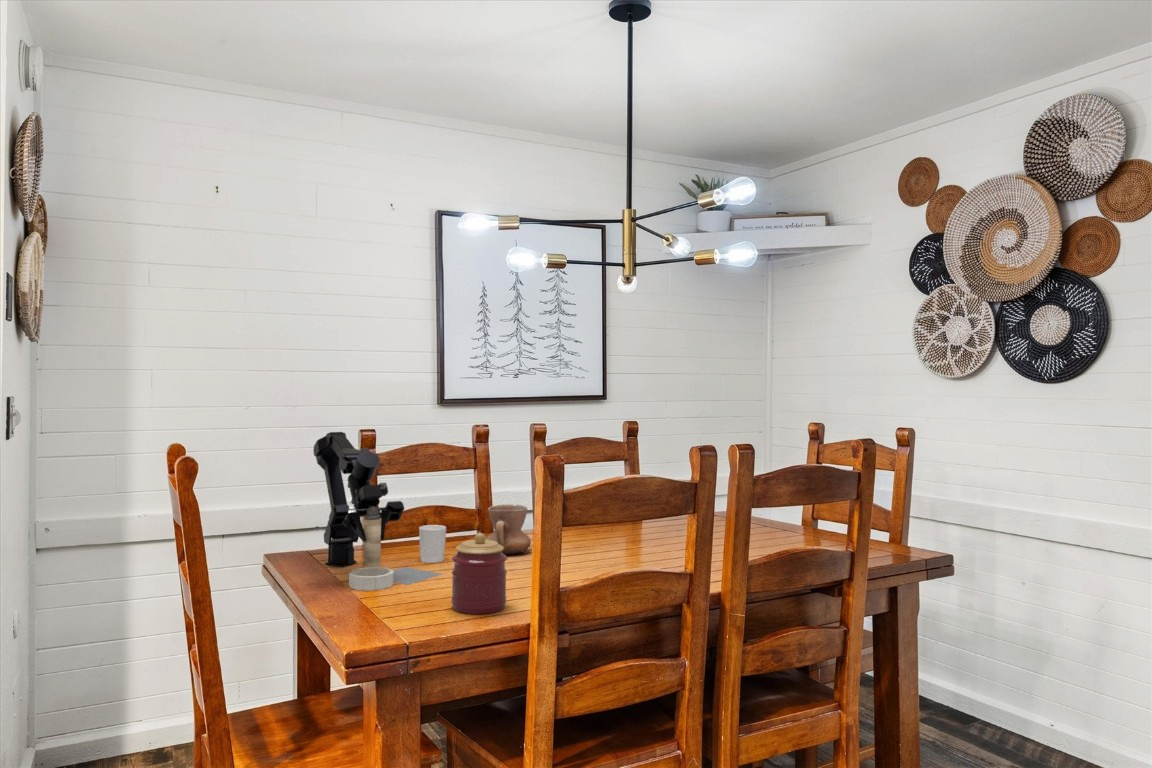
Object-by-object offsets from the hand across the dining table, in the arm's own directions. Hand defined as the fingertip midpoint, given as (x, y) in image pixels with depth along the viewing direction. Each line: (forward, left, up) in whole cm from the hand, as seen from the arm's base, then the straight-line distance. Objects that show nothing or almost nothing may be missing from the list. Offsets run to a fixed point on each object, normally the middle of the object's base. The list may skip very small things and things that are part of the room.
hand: (373, 539), depth 206 cm
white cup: (-1, +32, -12) cm, 34 cm away
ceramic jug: (+14, +52, -12) cm, 55 cm away
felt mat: (+2, +13, -12) cm, 18 cm away
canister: (+33, -5, -12) cm, 36 cm away
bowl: (-1, +1, -12) cm, 12 cm away
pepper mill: (-1, +1, -7) cm, 7 cm away
